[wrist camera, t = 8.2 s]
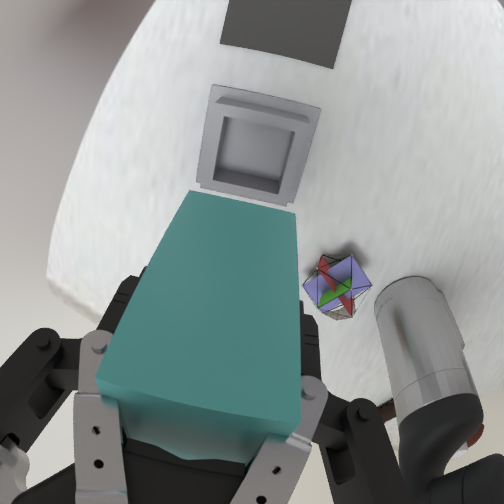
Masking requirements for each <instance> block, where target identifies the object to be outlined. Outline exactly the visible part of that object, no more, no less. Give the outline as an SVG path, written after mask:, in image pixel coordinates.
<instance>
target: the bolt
mask: <svg viewBox="0 0 504 504" xmlns="http://www.w3.org/2000/svg"><path fill="white" fill-rule="evenodd" d="M378 410H379V412H380V415H381V417H382V420H383V423H385V422H386V421H389V420H391V419H392V418H395V417H397V416H396V410H395V405H394V402H392V403H391V404H388V405H386V406H384V407H383V408H380V409H378Z"/></svg>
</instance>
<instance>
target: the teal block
mask: <svg viewBox="0 0 504 504" xmlns="http://www.w3.org/2000/svg"><path fill="white" fill-rule="evenodd" d="M95 380H96V383H97V386H98V389H99V391H100V394H101V395H104V396H108V397H112V398H116V399H118V402H119V405H120V408H121V411H122V414H123V417H124V420H125V423H126V426H127V429H128V432H129V435H130V438H132V439H135V440H138V441H142V442H145V443H149V444H153V445H156V446H158V447H160V448H162V449H164V450H166V451H168V452H170V453H172V454H174V455H176V456H178V457H180V458H182V459H186V460H196V459H221V460H227V461H233V462H240V463H245V464H246V462H247V461H248V460H249V458H250V457H251V456H252V455H253V453H254V452H255V451H256V449H257V448H258V447H259V446H260V444H261V443H262V442H263V440H264V439H265V438H266V436H267V435H268V434H269V433H275V434H280V435H285V436H290V435H291V434H292V433H293V431H294V430H295V429H296V428H297V427H298V426H299V425H300V423H301V350H300V307H299V278H298V254H297V234H296V216H295V213H291V212H286V211H282V210H278V209H274V208H269V207H265V206H261V205H256V204H252V203H247V202H243V201H238V200H234V199H229V198H225V197H220V196H215V195H211V194H206V193H201V192H196V191H191V190H189V192H188V194H187V195H186V197H185V199H184V200H183V202H182V204H181V206H180V207H179V209H178V211H177V213H176V214H175V216H174V218H173V220H172V222H171V223H170V225H169V227H168V229H167V230H166V232H165V234H164V236H163V238H162V240H161V241H160V243H159V245H158V247H157V249H156V251H155V253H154V254H153V256H152V258H151V260H150V262H149V264H148V266H147V268H146V270H145V272H144V274H143V276H142V277H141V279H140V281H139V283H138V285H137V287H136V289H135V291H134V293H133V295H132V297H131V299H130V301H129V303H128V305H127V308H126V310H125V312H124V314H123V316H122V318H121V320H120V322H119V324H118V326H117V328H116V331H115V333H114V335H113V337H112V339H111V341H110V344H109V346H108V348H107V350H106V353H105V355H104V357H103V359H102V362H101V364H100V366H99V368H98V371H97V373H96V375H95Z"/></svg>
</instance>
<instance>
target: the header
mask: <svg viewBox="0 0 504 504" xmlns="http://www.w3.org/2000/svg"><path fill="white" fill-rule="evenodd" d="M320 112H321V109H320V108H317V107H313V106H309V105H306V104H302V103H298V102H294V101H290V100H286V99H282V98H278V97H274V96H269V95H265V94H260V93H256V92H251V91H246V90H241V89H235V88H230V87H224V86H219V85H212V86H211V91H210V96H209V102H208V108H207V113H206V119H205V125H204V131H203V137H202V144H201V150H200V156H199V163H198V170H197V177H196V182H197V183H201V185H200V188H204V189H208V190H213V191H218V192H223V193H228V194H232V195H237V196H241V197H246V198H250V199H255V200H259V201H264V202H268V203H272V204H277V205H281V206H285V207H286V206H287V202H289V203H293V202H294V199H295V195H296V192H297V189H298V186H299V182H300V179H301V176H302V173H303V169H304V166H305V163H306V159H307V156H308V153H309V149H310V146H311V143H312V139H313V136H314V132H315V129H316V126H317V122H318V119H319V115H320Z"/></svg>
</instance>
